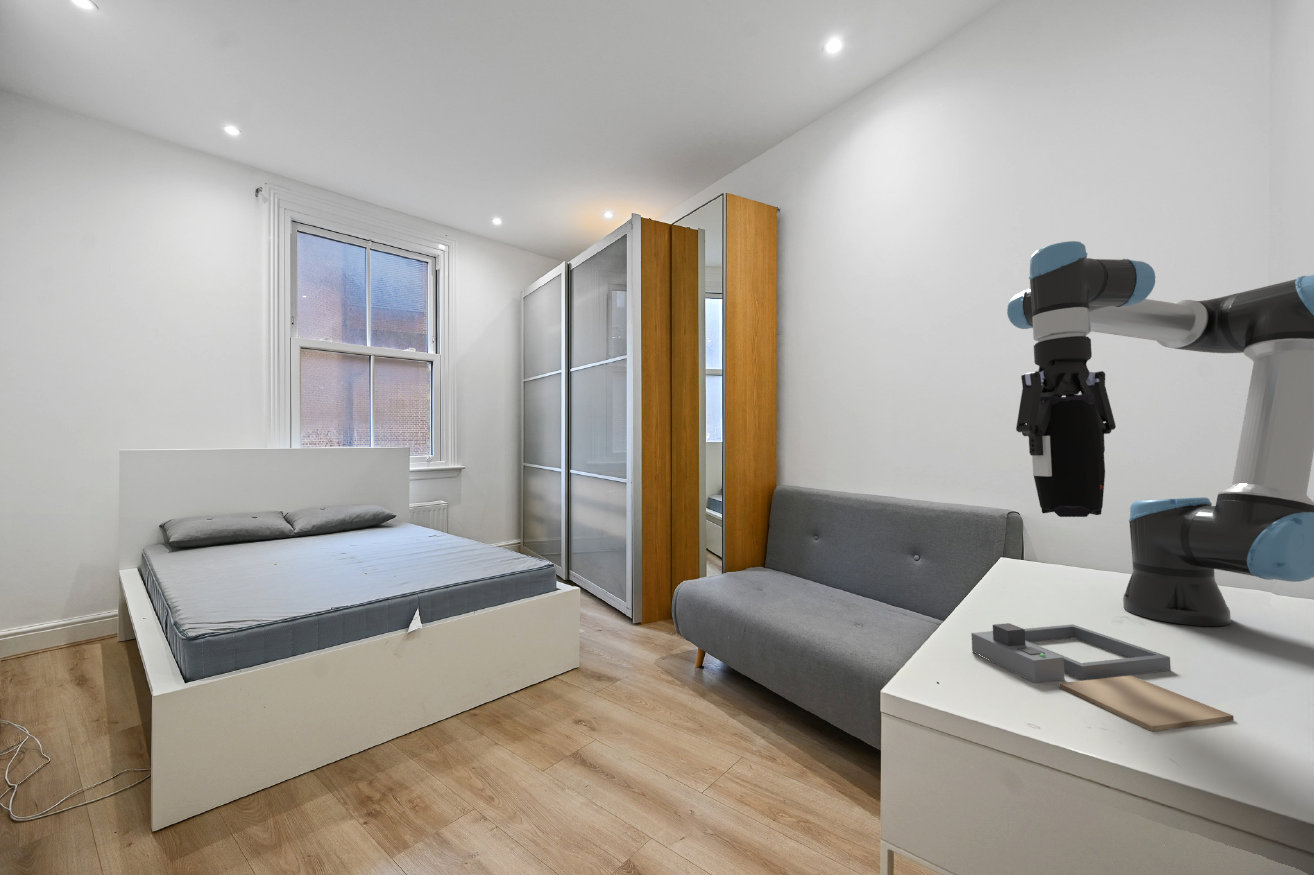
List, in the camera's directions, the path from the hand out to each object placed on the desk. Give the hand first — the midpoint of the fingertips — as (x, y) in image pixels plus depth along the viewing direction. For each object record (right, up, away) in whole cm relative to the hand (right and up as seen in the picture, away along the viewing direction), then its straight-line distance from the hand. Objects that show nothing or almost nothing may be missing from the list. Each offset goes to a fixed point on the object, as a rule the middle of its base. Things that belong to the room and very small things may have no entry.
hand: (1068, 474), depth 86 cm
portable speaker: (0, -7, 0) cm, 7 cm away
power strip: (-12, -30, -4) cm, 32 cm away
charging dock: (-1, -29, -1) cm, 29 cm away
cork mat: (-4, -29, -17) cm, 34 cm away
